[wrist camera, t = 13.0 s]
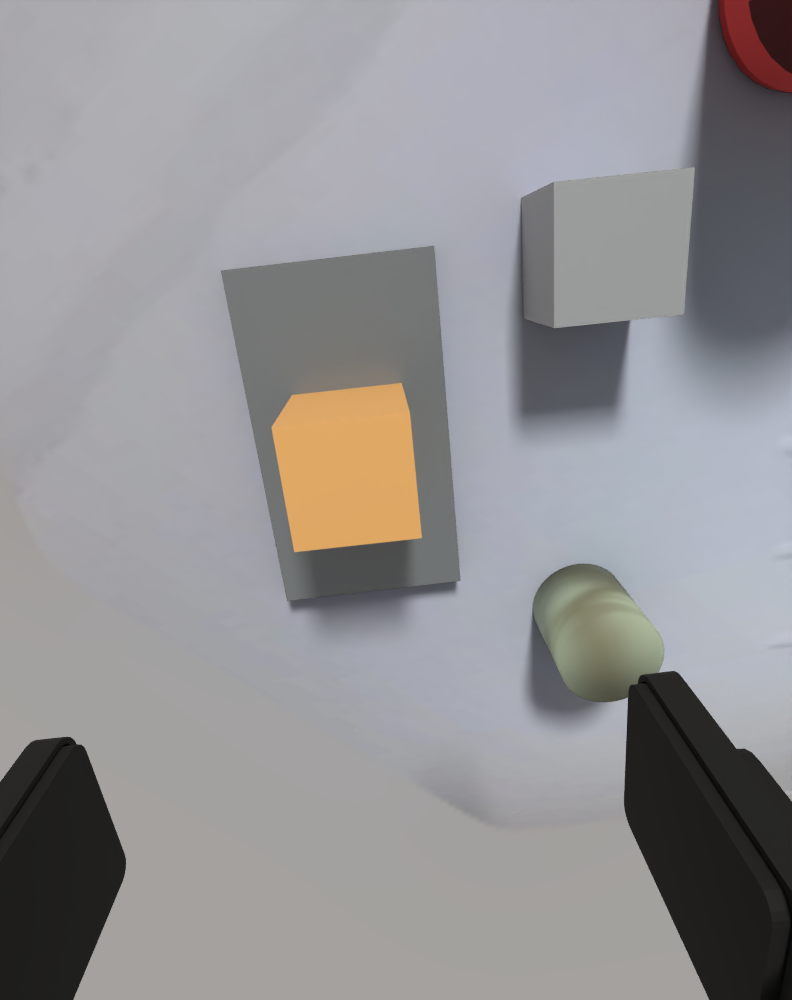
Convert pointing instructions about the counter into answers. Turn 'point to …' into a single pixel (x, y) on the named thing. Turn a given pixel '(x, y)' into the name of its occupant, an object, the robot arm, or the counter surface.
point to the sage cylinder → (596, 632)
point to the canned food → (760, 39)
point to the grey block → (607, 248)
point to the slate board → (345, 365)
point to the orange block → (348, 467)
